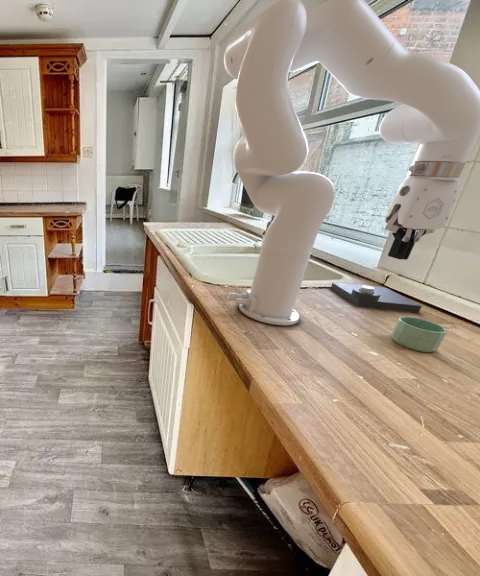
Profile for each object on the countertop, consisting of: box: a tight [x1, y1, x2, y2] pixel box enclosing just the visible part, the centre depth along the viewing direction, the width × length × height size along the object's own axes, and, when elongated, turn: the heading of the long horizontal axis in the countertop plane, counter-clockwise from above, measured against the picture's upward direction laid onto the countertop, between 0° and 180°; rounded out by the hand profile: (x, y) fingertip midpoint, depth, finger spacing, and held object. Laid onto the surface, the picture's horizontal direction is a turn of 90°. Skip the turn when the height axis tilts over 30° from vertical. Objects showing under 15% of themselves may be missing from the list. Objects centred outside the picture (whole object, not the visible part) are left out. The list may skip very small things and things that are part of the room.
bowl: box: [390, 315, 448, 353], centre depth 61 cm, size 7×7×5 cm
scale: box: [330, 282, 422, 313], centre depth 83 cm, size 14×13×4 cm
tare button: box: [360, 285, 375, 294], centre depth 79 cm, size 3×3×2 cm
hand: (397, 257), depth 70 cm, fingers closed
